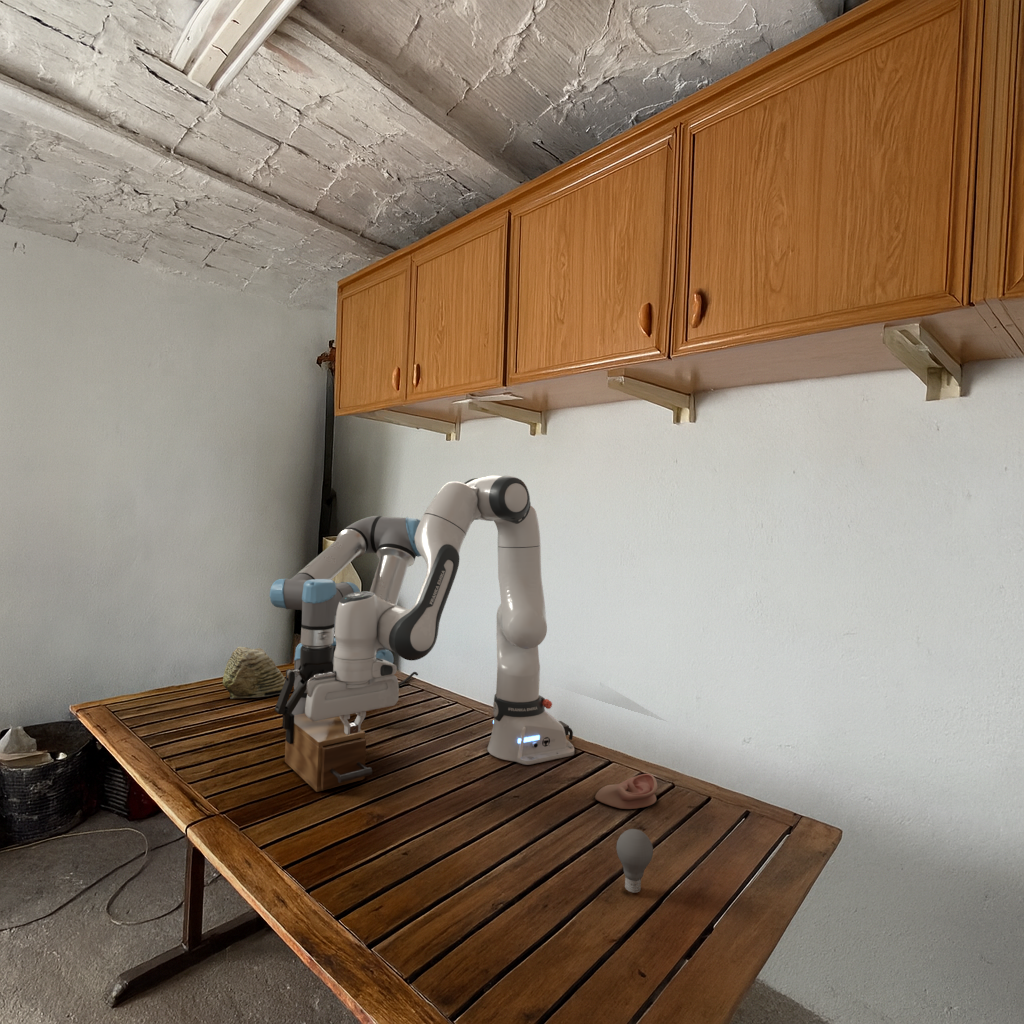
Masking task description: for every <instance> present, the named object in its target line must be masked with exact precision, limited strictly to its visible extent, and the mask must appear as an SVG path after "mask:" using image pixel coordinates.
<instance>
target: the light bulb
mask: <svg viewBox="0 0 1024 1024" xmlns="http://www.w3.org/2000/svg"><path fill="white" fill-rule="evenodd" d="M615 849H616V854H617V857H618V859H619V861H620V863H621V865H622V867H623V873H624V874H623V875H624V876H625V878H624V888H625V890H627V891H628V892H630V893H634V894H635V893H639V892H640V891H641V889H642V887H641V886H642V879H643V877H644V875H645V871H646V868H647V867H648V866H649V864H650V863H651V861H652V859H653V855H654V847H653V843H652V841H651V838H649V836H648V835H647V834H646V833H645V832H643V831H642V830H641V829H636V828H629V829H627V830H625V831H623V832H622V833H621V834H620V835H619V837H618V839H617V841H616V847H615Z"/></svg>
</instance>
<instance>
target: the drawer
mask: <svg viewBox="0 0 1024 1024" xmlns="http://www.w3.org/2000/svg"><path fill="white" fill-rule="evenodd" d="M366 753H367V739H366V738H365V739H364V738H362V739H358V740H357V739H352V740H348V741H344V742H339V743H335V744H330V745H326V746H323V748H322V771H321V788H322V789H323V791H326V790H329V789H328V788H330V789H333V788H332V787H334V788H337V787H340V786H339V785H341V786H344V785H343V784H345V785H348V784H351V783H350V782H352V783H355V782H354V781H356V782H359V781H362V780H361V779H363V780H365V779H366V777H368V776H371V775H373V769H372V767H371V766H369V767H367V766H366V756H367V755H366ZM358 780H359V781H358ZM347 783H348V784H347ZM336 786H337V787H336ZM325 789H326V790H325Z"/></svg>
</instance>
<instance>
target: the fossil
mask: <svg viewBox="0 0 1024 1024" xmlns="http://www.w3.org/2000/svg"><path fill="white" fill-rule="evenodd" d="M222 676H223V677H222V685H223V687H224V688H225V690H226V691H228V693H229V698H230V699H250V698H264V697H271V696H275V695H280V693H281V691H282V688H283V685H284V682H285V680H286V676H284V674H283V673H282V672H281V669H279V668H278V667H277V665H276V663H275V662H274V660H273V659H272V658H271V657H270V656H269V655H268V654H267V653H266V652H265V650H264V649H263V648H260V647H258V648H251V647H247V646H246V647H245V646H238V647H237V648H236V649H235V650H233V651H232V653H231V656H230V657H229V659H228V660H227V663H226V666H225V668H224V671H223V675H222Z"/></svg>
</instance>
